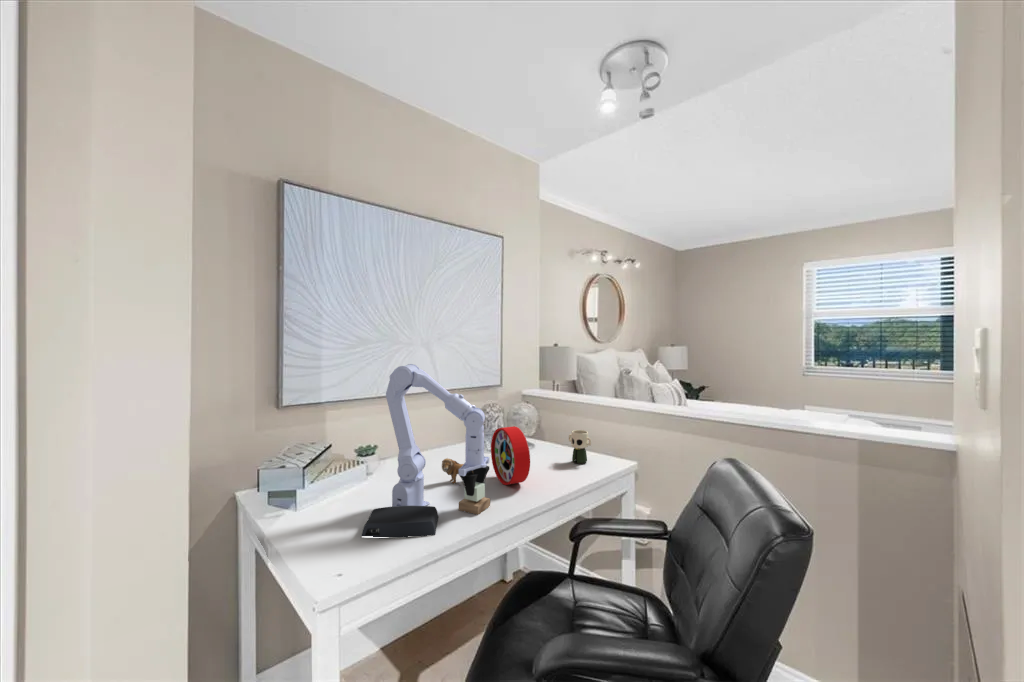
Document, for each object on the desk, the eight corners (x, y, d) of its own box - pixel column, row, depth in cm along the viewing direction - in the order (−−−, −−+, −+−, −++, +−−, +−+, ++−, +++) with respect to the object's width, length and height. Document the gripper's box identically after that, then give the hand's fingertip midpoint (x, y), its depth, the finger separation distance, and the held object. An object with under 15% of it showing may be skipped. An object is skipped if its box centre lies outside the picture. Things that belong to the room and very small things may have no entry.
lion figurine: (442, 486, 146) (442, 461, 146) (440, 481, 151) (440, 456, 151) (483, 482, 151) (483, 457, 150) (479, 477, 156) (479, 453, 155)
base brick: (478, 515, 123) (478, 506, 123) (458, 510, 126) (458, 502, 126) (490, 506, 129) (490, 498, 129) (471, 502, 132) (471, 494, 132)
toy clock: (490, 475, 158) (491, 423, 157) (504, 472, 160) (504, 421, 160) (515, 493, 140) (515, 434, 140) (530, 490, 143) (530, 432, 142)
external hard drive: (371, 519, 121) (371, 505, 121) (438, 516, 123) (438, 503, 123) (359, 541, 108) (359, 525, 108) (435, 538, 110) (435, 522, 110)
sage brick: (476, 501, 124) (476, 486, 124) (464, 498, 126) (464, 484, 126) (484, 496, 128) (484, 482, 128) (472, 493, 130) (472, 479, 130)
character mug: (564, 461, 175) (564, 431, 175) (573, 457, 180) (573, 428, 180) (586, 467, 168) (586, 435, 168) (595, 463, 173) (595, 432, 173)
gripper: (472, 456, 119) (472, 503, 119) (497, 444, 132) (497, 487, 132) (452, 453, 122) (452, 498, 122) (478, 441, 135) (478, 483, 135)
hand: (474, 492), depth 127 cm, fingers closed on sage brick, 4 cm apart
